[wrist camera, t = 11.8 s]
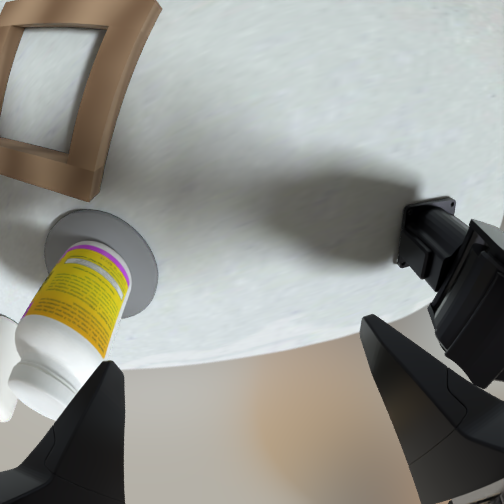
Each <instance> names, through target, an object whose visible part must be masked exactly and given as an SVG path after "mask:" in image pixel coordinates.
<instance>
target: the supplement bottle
mask: <svg viewBox="0 0 504 504" xmlns="http://www.w3.org/2000/svg"><path fill="white" fill-rule="evenodd" d="M131 286H132V279H131V274H130V271H129V268H128V266H127V264H126V263H125V261H124V260H123V258H122V257H121V256H120V255H119V254H118V253H117V252H116V251H114V250H113V249H112V248H110V247H109V246H107V245H105V244H102V243H99V242H95V241H81V242H78V243H75V244H74V245H72V246H71V247H70V248H69V249H68V250H67V251H66V252H65V253H64V255H63V256H62V257H61V259H60V260H59V261H58V263H57V264H56V266H55V267H54V268H53V270H52V271H51V273H50V274H49V276H48V277H47V278H46V280H45V282H44V283H43V284H42V286H41V287H40V289H39V291H38V292H37V294H36V295H35V297H34V298H33V300H32V302H31V303H30V305H29V307H28V308H27V310H26V312H25V313H24V315H23V317H22V318H21V320H20V322H19V324H18V326H17V328H16V331H15V345H16V349H17V352H18V354H19V356H20V358H21V361H20V362H18V363H17V365H15V366H14V367H13V369H12V372H11V374H10V377H9V379H8V386H9V388H10V389H11V391H12V392H13V393H14V395H15V396H16V397H17V398H18V399H19V400H21V401H22V402H23V403H24V404H25V405H27V406H28V407H30V408H31V409H33V410H35V411H36V412H38V413H40V414H41V415H43V416H46V417H48V418H50V419H52V420H55V421H56V420H57V419H58V418H59V416H60V415H61V414H62V412H63V411H64V410H65V408H66V407H67V406H68V404H69V403H70V402H71V400H72V399H73V398H74V396H75V395H76V394H77V393H78V391H79V390H80V389H81V387H82V386H83V385H84V384H85V382H86V381H87V380H88V378H89V377H90V376H91V375H92V373H93V372H94V371H95V370H96V368H97V367H98V366H99V365H100V363H101V362H102V361H108V360H109V356H110V352H111V349H112V346H113V342H114V339H115V336H116V333H117V329H118V326H119V323H120V320H121V317H122V314H123V311H124V308H125V305H126V302H127V300H128V297H129V294H130V291H131Z"/></svg>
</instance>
